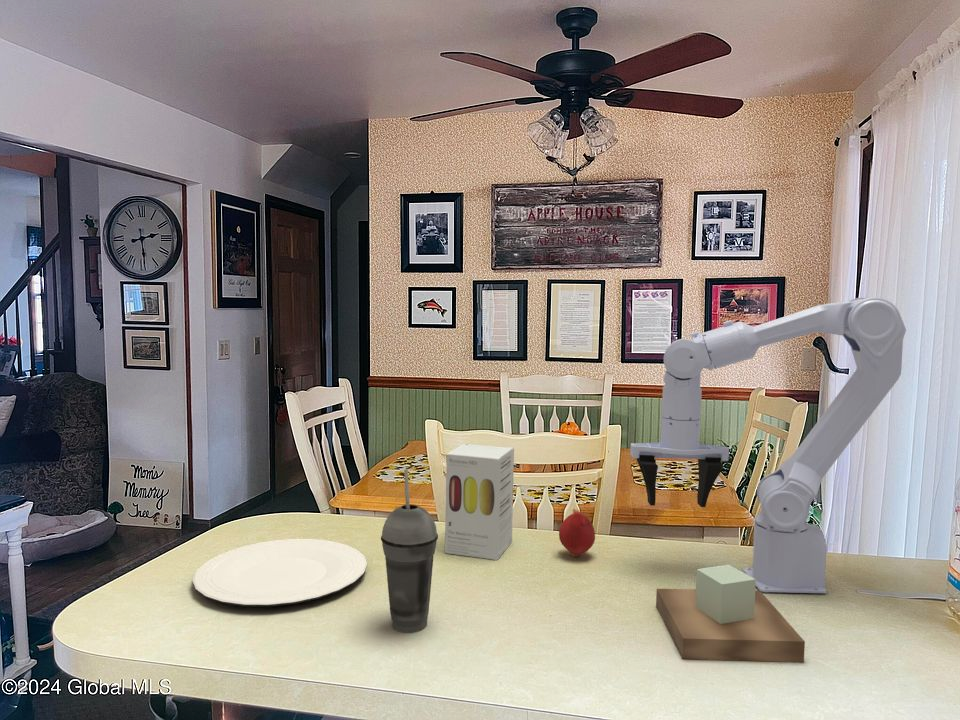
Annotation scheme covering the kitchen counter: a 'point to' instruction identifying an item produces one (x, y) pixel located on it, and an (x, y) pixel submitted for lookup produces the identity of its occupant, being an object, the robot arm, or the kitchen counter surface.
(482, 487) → the supplement box
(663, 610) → the walnut base
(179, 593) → the kitchen counter surface
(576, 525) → the onion
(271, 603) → the plate
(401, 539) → the beverage cup
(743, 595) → the sage block
